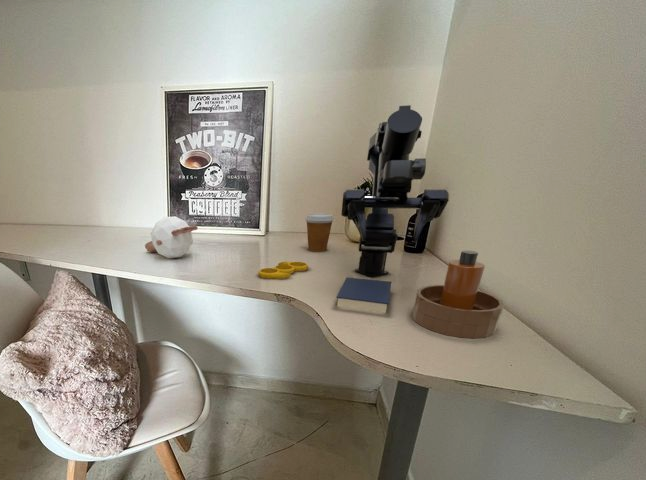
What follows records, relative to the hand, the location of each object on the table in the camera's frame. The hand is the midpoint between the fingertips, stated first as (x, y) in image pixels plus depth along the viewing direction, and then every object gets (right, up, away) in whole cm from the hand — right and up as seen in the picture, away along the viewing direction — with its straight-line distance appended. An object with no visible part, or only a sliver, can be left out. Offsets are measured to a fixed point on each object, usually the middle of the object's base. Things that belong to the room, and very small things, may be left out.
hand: (389, 241), depth 63 cm
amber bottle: (+11, -15, -2) cm, 19 cm away
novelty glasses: (-16, -2, +31) cm, 35 cm away
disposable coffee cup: (-2, +9, +55) cm, 56 cm away
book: (-1, -11, +10) cm, 15 cm away
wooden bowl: (+11, -16, -2) cm, 19 cm away
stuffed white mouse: (-53, +5, +50) cm, 73 cm away
